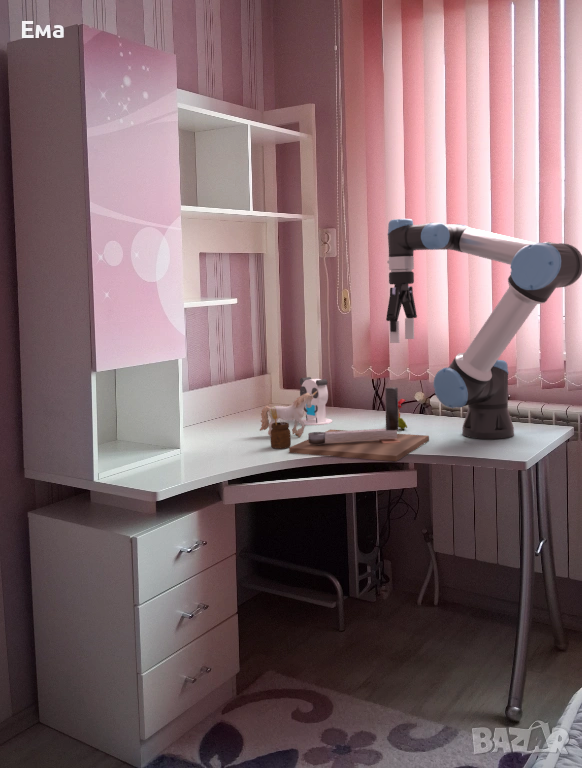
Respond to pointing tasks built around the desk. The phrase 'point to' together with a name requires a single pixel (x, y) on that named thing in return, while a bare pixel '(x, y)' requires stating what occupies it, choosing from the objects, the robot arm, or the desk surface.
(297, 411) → the unicorn figurine
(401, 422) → the bird rattle
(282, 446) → the utensil holder
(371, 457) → the walnut board
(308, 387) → the panda figurine
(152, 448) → the desk surface
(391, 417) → the lever
